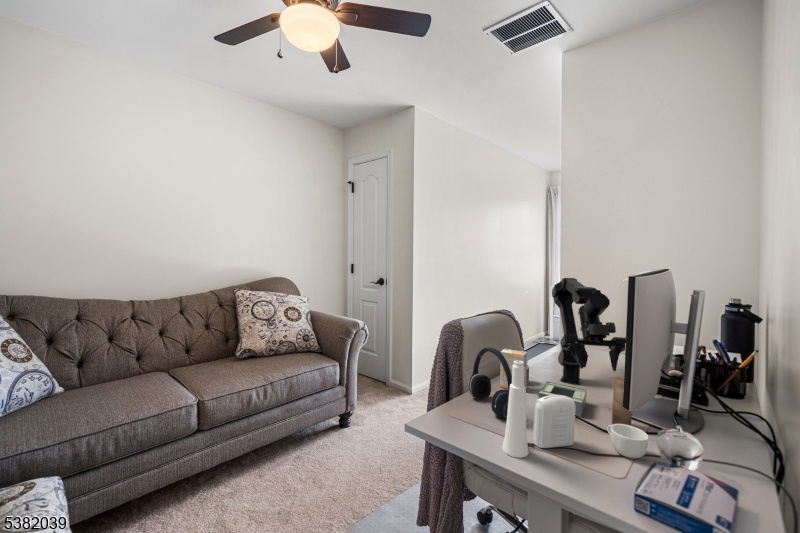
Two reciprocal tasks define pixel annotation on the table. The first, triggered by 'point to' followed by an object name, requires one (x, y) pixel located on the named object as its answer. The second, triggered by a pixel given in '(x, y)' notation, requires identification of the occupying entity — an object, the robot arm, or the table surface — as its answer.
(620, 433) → the teacup
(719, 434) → the table surface
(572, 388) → the money box
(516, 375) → the cosmetic bottle
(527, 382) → the pill bottle
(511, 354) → the supplement box
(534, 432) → the photo printer
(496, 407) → the headphones
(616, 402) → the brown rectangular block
